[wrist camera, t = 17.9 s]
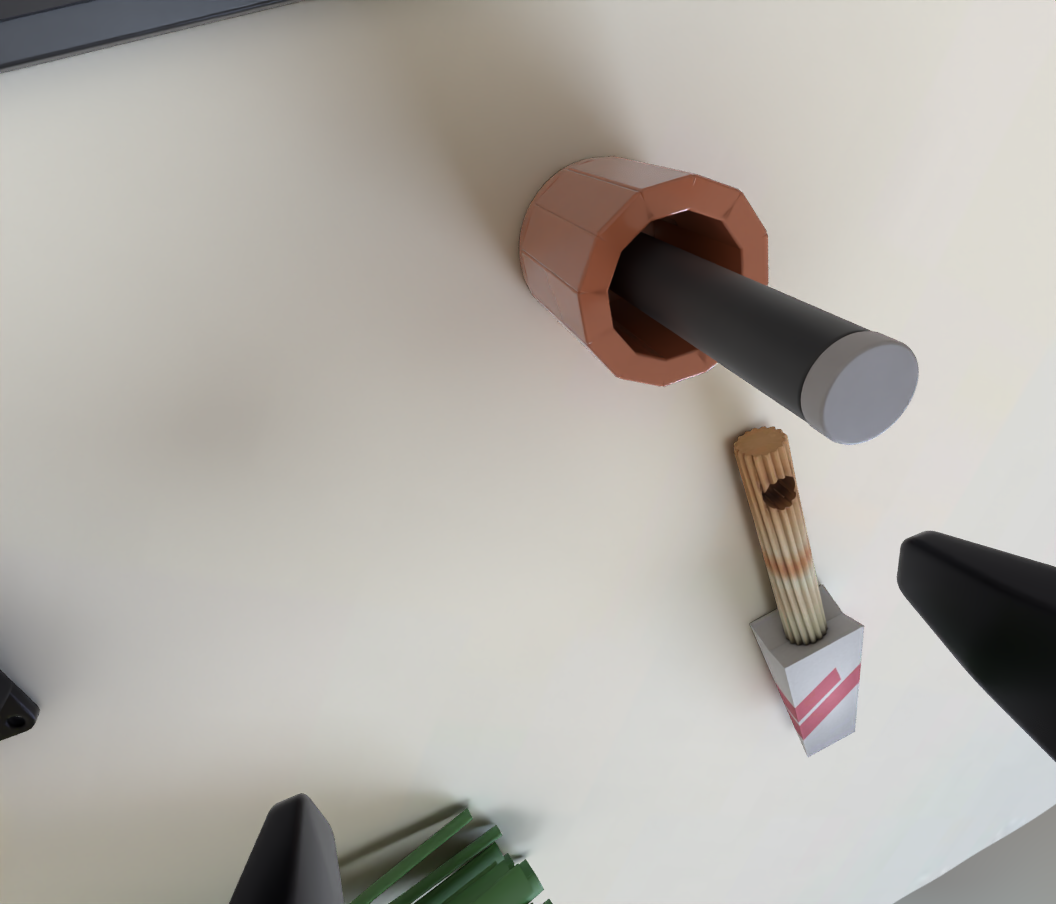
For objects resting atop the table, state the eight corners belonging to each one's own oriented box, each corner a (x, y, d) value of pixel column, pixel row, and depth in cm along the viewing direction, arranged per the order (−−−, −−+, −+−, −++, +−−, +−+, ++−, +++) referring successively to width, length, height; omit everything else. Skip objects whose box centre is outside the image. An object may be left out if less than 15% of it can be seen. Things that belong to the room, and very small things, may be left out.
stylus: (577, 283, 18) (819, 460, 10) (567, 225, 17) (823, 362, 9) (629, 266, 18) (914, 425, 10) (622, 209, 18) (927, 326, 9)
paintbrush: (816, 788, 32) (735, 482, 21) (783, 742, 34) (695, 446, 24) (884, 752, 32) (836, 430, 21) (847, 708, 34) (786, 400, 24)
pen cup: (537, 341, 19) (598, 410, 15) (501, 182, 17) (563, 212, 13) (674, 296, 20) (769, 351, 16) (659, 137, 17) (767, 151, 13)
